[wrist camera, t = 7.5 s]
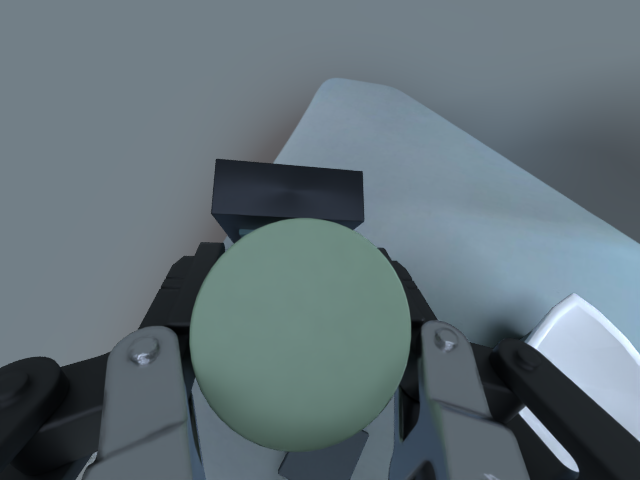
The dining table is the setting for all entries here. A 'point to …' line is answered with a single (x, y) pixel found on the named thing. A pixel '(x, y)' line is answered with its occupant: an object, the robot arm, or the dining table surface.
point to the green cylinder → (300, 335)
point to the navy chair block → (283, 195)
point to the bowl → (588, 365)
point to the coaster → (325, 461)
